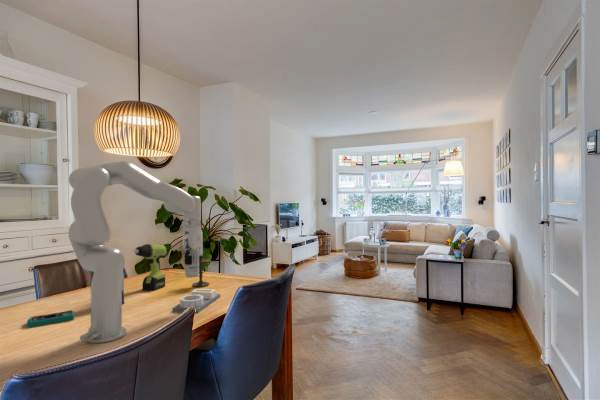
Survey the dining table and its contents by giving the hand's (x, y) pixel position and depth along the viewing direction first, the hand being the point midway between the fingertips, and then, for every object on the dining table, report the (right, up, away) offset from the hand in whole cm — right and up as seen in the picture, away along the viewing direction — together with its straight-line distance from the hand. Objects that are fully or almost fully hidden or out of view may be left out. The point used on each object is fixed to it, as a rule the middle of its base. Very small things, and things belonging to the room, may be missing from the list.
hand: (192, 262), depth 148 cm
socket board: (+1, -20, +6) cm, 21 cm away
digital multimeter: (-51, -21, -17) cm, 57 cm away
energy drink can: (0, -6, 0) cm, 6 cm away
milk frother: (-37, -21, +1) cm, 42 cm away
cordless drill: (-33, -21, +29) cm, 49 cm away
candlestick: (-8, -21, +40) cm, 45 cm away
